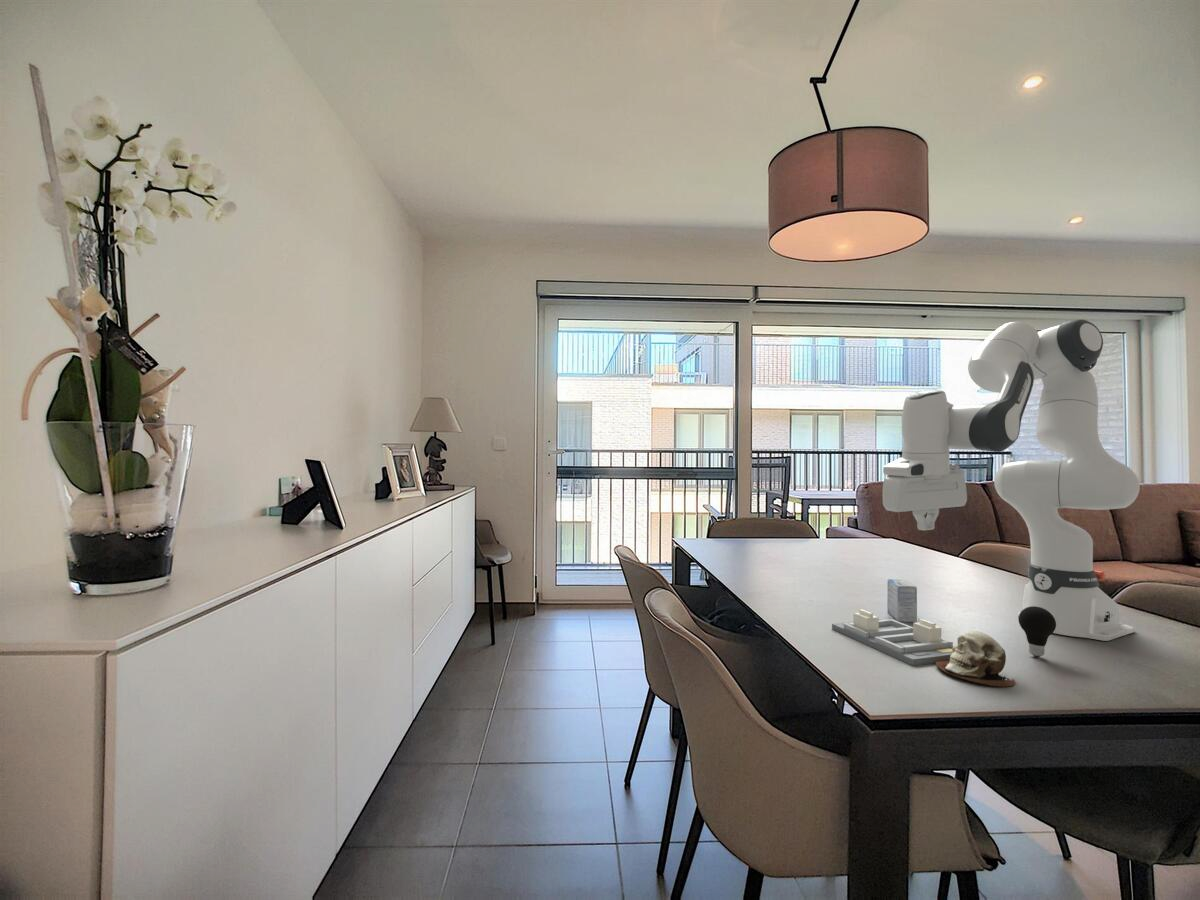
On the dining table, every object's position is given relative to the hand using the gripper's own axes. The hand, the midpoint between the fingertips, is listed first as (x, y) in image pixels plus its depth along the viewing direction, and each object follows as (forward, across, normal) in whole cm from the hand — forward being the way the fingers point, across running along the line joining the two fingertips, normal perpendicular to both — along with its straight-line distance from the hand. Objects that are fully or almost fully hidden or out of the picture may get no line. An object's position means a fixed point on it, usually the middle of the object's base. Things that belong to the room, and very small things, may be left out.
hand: (925, 529), depth 119 cm
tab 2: (+22, +6, +5) cm, 23 cm away
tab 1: (+22, +13, -4) cm, 26 cm away
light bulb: (+24, -12, +15) cm, 31 cm away
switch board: (+23, +9, 0) cm, 25 cm away
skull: (+23, +8, +18) cm, 30 cm away
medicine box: (+25, -7, -13) cm, 29 cm away
